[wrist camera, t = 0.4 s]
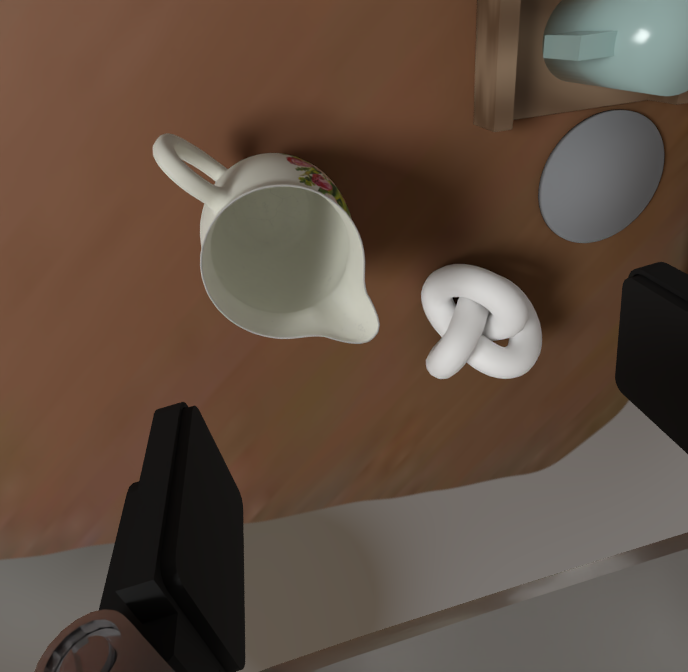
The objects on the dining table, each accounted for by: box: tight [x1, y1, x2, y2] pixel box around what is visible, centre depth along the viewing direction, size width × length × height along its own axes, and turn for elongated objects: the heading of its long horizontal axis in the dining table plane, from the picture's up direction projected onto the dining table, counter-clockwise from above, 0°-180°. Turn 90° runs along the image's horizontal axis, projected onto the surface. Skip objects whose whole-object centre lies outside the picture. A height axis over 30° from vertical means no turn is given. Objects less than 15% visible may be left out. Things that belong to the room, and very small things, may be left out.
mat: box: [538, 109, 664, 243], centre depth 47 cm, size 12×12×1 cm
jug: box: [542, 0, 688, 96], centre depth 35 cm, size 6×9×11 cm
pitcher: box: [153, 134, 380, 344], centre depth 37 cm, size 11×18×14 cm, turn 47°
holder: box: [474, 0, 688, 132], centre depth 38 cm, size 15×17×4 cm
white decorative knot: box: [421, 264, 542, 379], centre depth 48 cm, size 11×12×9 cm
